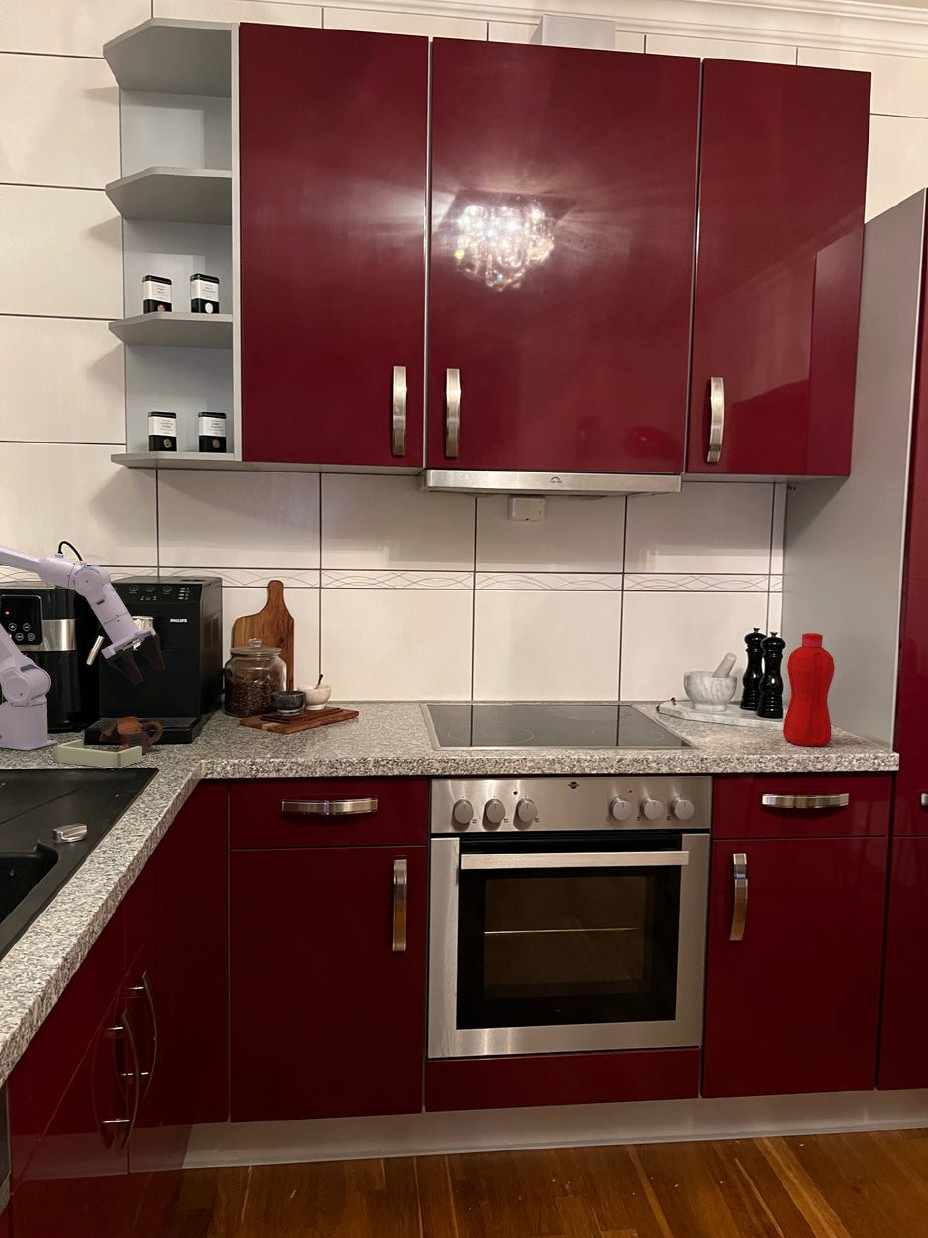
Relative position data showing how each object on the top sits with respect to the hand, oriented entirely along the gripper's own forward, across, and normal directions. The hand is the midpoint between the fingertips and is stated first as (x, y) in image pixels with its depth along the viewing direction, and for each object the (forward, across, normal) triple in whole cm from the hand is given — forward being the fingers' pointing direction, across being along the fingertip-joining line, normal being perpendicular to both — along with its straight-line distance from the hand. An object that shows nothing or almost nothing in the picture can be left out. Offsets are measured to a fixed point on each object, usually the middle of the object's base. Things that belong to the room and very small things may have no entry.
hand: (150, 676), depth 192 cm
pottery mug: (+12, -8, +8) cm, 16 cm away
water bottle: (+86, +56, -102) cm, 145 cm away
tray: (+9, -17, +7) cm, 21 cm away
